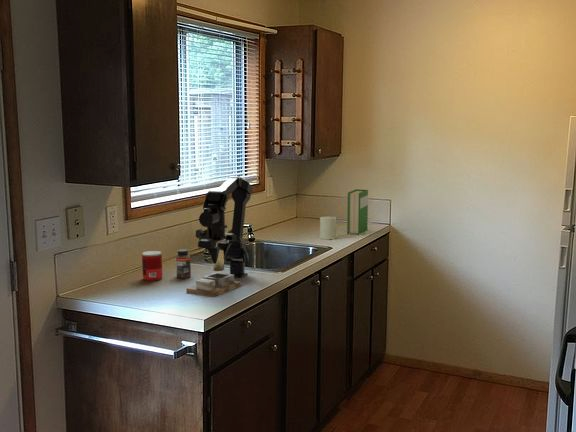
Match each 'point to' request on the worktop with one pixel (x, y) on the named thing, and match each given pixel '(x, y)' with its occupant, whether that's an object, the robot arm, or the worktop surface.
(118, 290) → the worktop surface
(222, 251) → the cylinder
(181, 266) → the supplement bottle
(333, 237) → the can
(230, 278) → the jig
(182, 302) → the worktop surface
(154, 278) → the canned food
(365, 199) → the hardback book
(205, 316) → the worktop surface
